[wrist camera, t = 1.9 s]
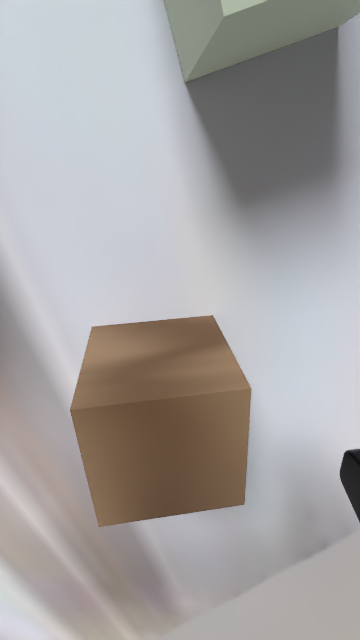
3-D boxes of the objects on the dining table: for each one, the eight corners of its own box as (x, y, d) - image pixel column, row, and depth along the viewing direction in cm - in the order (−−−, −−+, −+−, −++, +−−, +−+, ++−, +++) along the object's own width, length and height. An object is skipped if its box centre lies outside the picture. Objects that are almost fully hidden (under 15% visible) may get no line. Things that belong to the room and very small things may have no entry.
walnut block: (212, 314, 12) (251, 388, 8) (212, 407, 14) (244, 504, 10) (92, 325, 12) (69, 409, 8) (109, 420, 14) (98, 527, 10)
